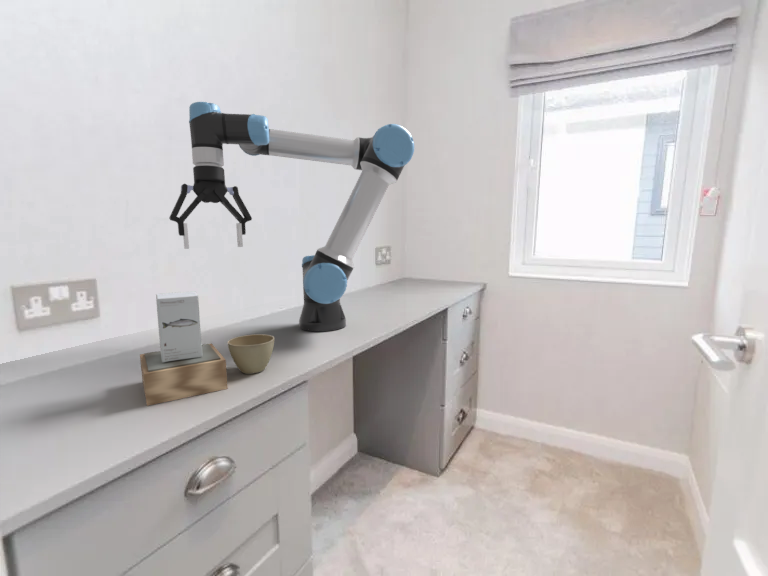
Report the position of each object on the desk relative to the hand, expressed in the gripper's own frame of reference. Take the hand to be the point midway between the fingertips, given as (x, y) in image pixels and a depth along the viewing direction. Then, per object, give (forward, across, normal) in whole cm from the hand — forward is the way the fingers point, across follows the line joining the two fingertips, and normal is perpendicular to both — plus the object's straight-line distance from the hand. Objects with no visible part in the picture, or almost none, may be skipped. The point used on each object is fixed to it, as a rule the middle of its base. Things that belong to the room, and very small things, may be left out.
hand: (214, 247), depth 109 cm
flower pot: (+27, -1, +27) cm, 38 cm away
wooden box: (+27, +13, +28) cm, 41 cm away
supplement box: (+21, +13, +28) cm, 37 cm away
